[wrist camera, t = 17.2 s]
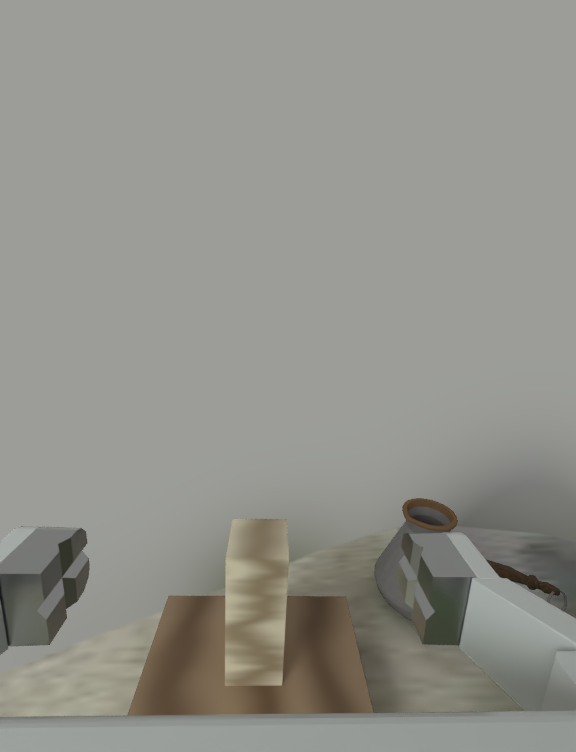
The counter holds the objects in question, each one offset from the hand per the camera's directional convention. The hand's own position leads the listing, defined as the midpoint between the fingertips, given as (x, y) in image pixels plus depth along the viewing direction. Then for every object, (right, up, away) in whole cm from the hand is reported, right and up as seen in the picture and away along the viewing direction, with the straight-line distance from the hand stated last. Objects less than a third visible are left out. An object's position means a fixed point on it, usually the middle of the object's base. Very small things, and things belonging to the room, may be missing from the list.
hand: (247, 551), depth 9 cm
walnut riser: (-2, -27, +26) cm, 37 cm away
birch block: (-2, -22, +25) cm, 33 cm away
